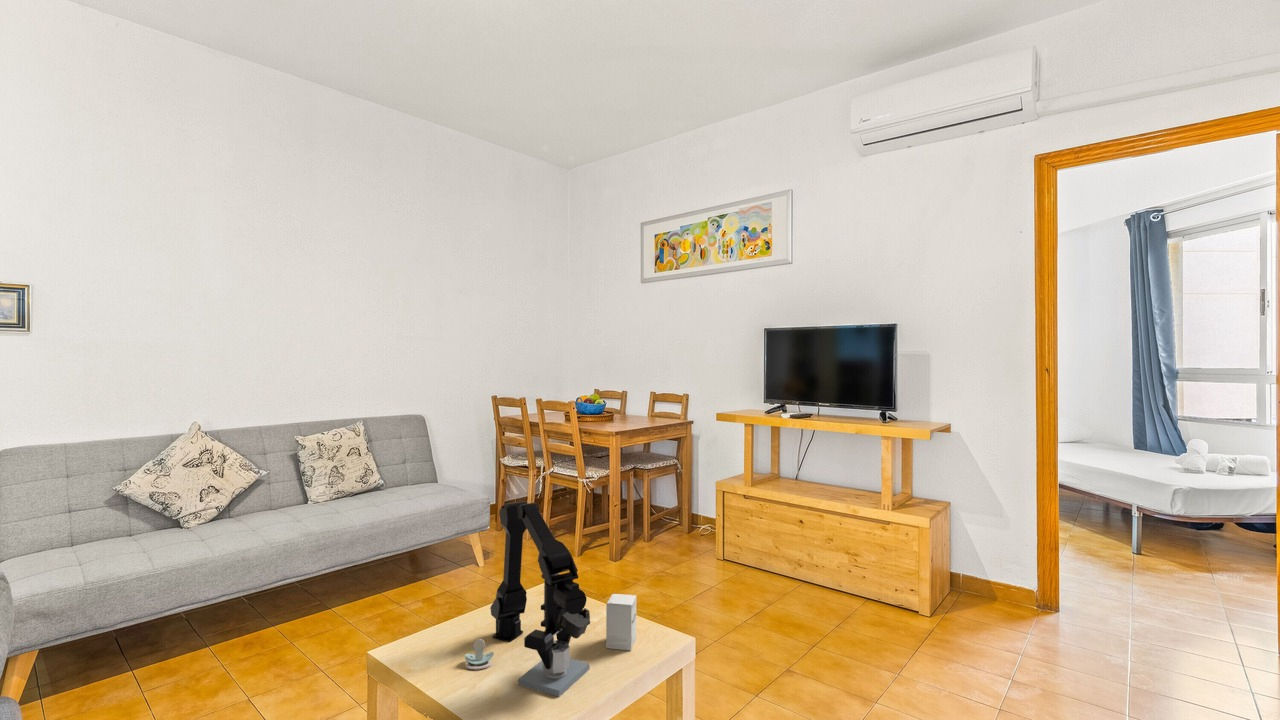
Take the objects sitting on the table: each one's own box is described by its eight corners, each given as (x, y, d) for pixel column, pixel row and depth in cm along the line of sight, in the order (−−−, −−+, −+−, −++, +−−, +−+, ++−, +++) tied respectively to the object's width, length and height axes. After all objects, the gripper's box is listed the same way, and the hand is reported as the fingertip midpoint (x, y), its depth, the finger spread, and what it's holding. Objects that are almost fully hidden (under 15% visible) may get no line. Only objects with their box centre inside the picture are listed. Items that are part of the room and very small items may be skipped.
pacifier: (492, 670, 153) (494, 658, 159) (491, 646, 153) (494, 635, 159) (462, 672, 152) (466, 660, 158) (462, 648, 152) (466, 637, 158)
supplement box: (631, 651, 163) (631, 605, 163) (605, 648, 164) (605, 602, 164) (637, 638, 170) (637, 594, 170) (612, 636, 171) (612, 592, 171)
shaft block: (518, 684, 146) (518, 667, 146) (550, 659, 158) (550, 643, 158) (559, 696, 140) (559, 678, 140) (589, 669, 153) (589, 652, 153)
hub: (537, 669, 146) (537, 649, 146) (552, 657, 152) (552, 638, 152) (559, 675, 144) (559, 655, 144) (573, 663, 149) (573, 643, 149)
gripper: (562, 621, 136) (562, 689, 136) (602, 592, 153) (602, 653, 153) (522, 612, 141) (522, 677, 141) (565, 585, 158) (565, 643, 158)
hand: (555, 662), depth 148 cm, fingers closed on hub, 6 cm apart
